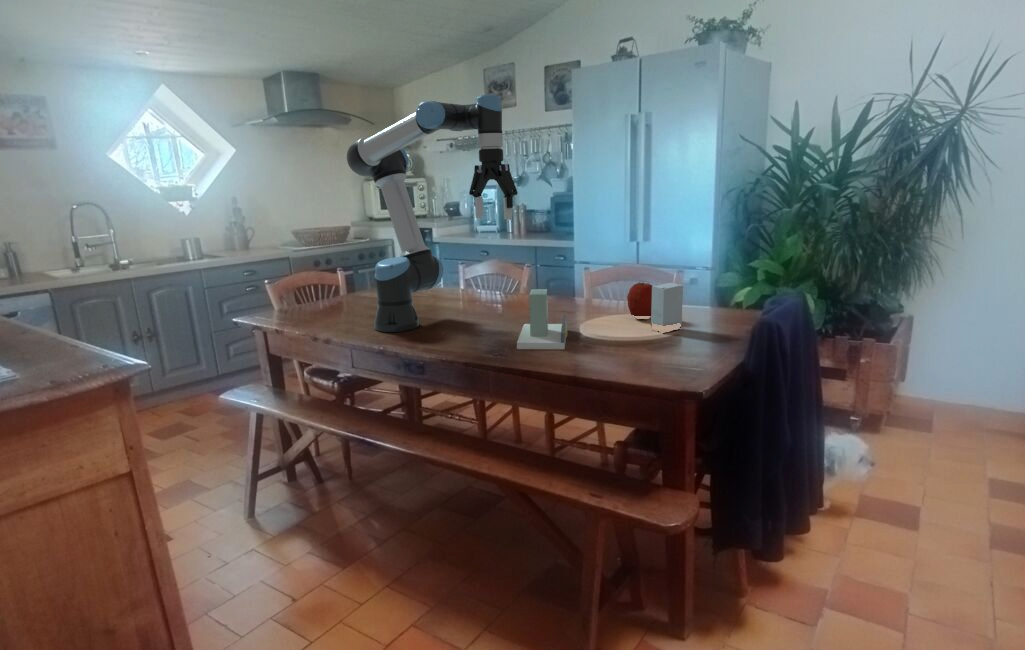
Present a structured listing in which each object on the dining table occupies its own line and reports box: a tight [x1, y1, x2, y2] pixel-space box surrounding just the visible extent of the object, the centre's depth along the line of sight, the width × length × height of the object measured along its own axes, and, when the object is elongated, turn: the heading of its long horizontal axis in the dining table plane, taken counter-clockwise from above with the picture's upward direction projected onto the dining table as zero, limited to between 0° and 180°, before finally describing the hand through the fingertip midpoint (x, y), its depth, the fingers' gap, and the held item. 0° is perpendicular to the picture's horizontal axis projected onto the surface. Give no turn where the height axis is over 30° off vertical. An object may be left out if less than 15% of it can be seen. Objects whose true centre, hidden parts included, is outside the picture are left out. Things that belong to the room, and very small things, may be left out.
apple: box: [626, 282, 654, 316], centre depth 203 cm, size 10×10×14 cm
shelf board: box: [516, 314, 568, 350], centre depth 184 cm, size 15×22×5 cm, turn 173°
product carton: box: [528, 288, 549, 336], centre depth 183 cm, size 5×8×13 cm, turn 174°
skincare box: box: [650, 282, 684, 326], centre depth 188 cm, size 8×6×15 cm
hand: (493, 218), depth 188 cm, fingers open, 13 cm apart
